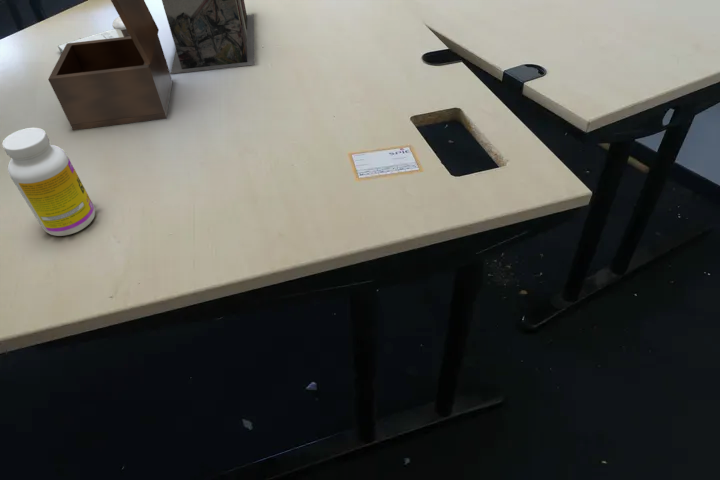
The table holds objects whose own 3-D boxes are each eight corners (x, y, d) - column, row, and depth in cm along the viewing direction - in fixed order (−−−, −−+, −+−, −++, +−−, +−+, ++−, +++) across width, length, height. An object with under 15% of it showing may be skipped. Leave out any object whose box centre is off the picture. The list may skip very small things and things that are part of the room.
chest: (72, 130, 87) (47, 79, 80) (88, 91, 96) (66, 43, 90) (166, 118, 88) (149, 67, 82) (172, 81, 97) (157, 33, 91)
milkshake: (146, 72, 100) (128, 18, 93) (122, 68, 102) (103, 16, 95) (160, 61, 103) (143, 9, 96) (137, 58, 105) (119, 6, 98)
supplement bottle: (106, 218, 70) (64, 135, 61) (58, 245, 67) (6, 162, 58) (82, 198, 74) (39, 116, 65) (35, 223, 70) (-18, 140, 61)
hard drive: (60, 52, 108) (119, 34, 114) (73, 65, 104) (134, 45, 109) (57, 44, 107) (116, 26, 113) (70, 57, 103) (131, 38, 108)
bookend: (253, 14, 119) (239, -67, 107) (254, 64, 101) (237, -27, 89) (181, 21, 117) (159, -60, 106) (170, 73, 99) (141, -18, 88)
